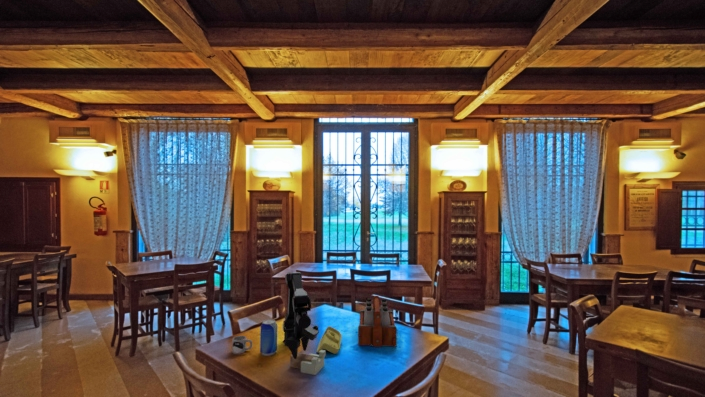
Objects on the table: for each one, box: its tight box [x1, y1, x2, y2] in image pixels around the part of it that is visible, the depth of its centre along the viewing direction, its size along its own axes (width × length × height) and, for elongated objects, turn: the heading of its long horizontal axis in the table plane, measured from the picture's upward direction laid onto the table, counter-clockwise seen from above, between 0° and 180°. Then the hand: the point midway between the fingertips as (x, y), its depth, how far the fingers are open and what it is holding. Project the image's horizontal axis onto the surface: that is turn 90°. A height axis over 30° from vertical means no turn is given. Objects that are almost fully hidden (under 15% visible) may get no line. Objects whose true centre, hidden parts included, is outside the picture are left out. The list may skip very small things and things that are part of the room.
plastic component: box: [316, 326, 342, 355], centre depth 174 cm, size 20×7×10 cm
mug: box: [231, 335, 253, 355], centre depth 167 cm, size 10×7×7 cm, turn 94°
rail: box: [289, 352, 317, 370], centre depth 151 cm, size 12×4×5 cm, turn 71°
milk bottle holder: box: [357, 295, 398, 348], centre depth 190 cm, size 21×35×19 cm, turn 177°
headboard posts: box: [300, 349, 327, 376], centre depth 149 cm, size 8×10×7 cm
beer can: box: [259, 318, 278, 357], centre depth 166 cm, size 8×8×16 cm
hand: (300, 354), depth 151 cm, fingers open, 9 cm apart
